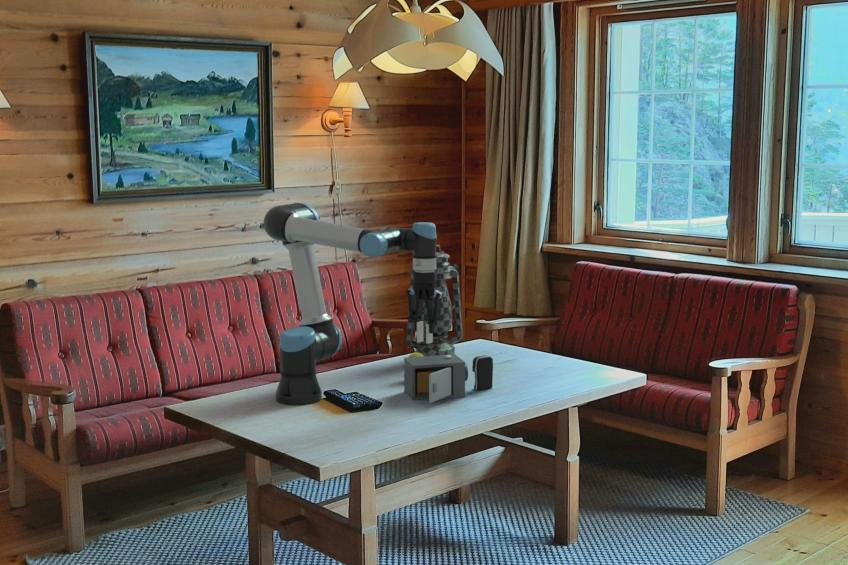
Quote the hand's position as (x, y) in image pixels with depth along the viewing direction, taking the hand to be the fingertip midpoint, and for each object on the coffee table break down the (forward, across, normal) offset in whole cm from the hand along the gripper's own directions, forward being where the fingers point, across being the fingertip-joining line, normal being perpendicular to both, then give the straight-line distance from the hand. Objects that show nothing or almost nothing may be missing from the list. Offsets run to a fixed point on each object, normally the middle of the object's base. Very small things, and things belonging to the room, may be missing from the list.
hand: (424, 342), depth 330 cm
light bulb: (+21, -19, +23) cm, 36 cm away
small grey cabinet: (+21, -3, +11) cm, 24 cm away
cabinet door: (+19, +4, +4) cm, 20 cm away
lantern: (+21, -30, +50) cm, 61 cm away
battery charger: (+21, +6, +26) cm, 34 cm away
